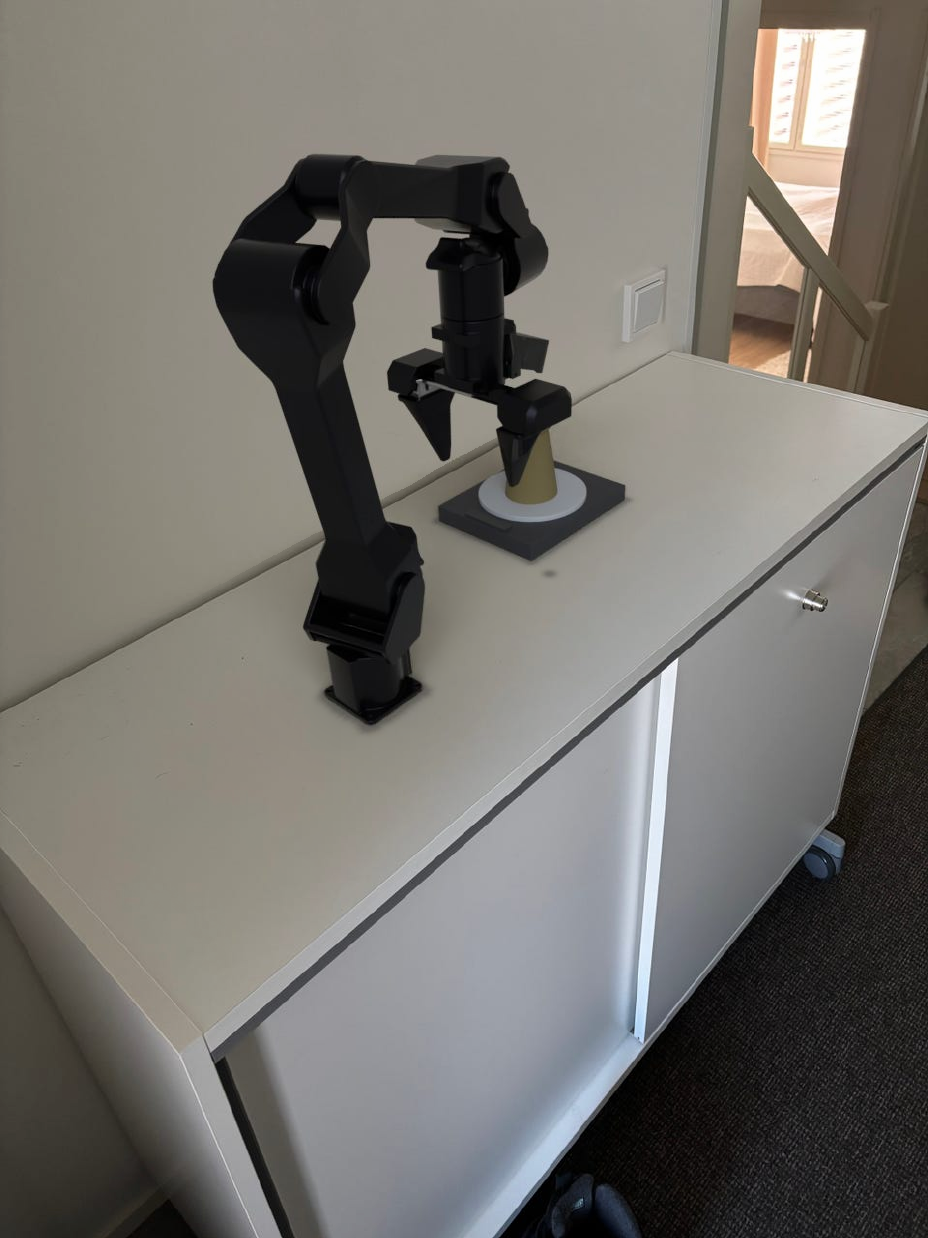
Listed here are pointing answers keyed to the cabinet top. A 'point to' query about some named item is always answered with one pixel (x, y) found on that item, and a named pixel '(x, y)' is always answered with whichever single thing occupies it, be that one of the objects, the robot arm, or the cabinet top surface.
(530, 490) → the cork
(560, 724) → the cabinet top surface
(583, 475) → the scale
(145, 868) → the cabinet top surface
